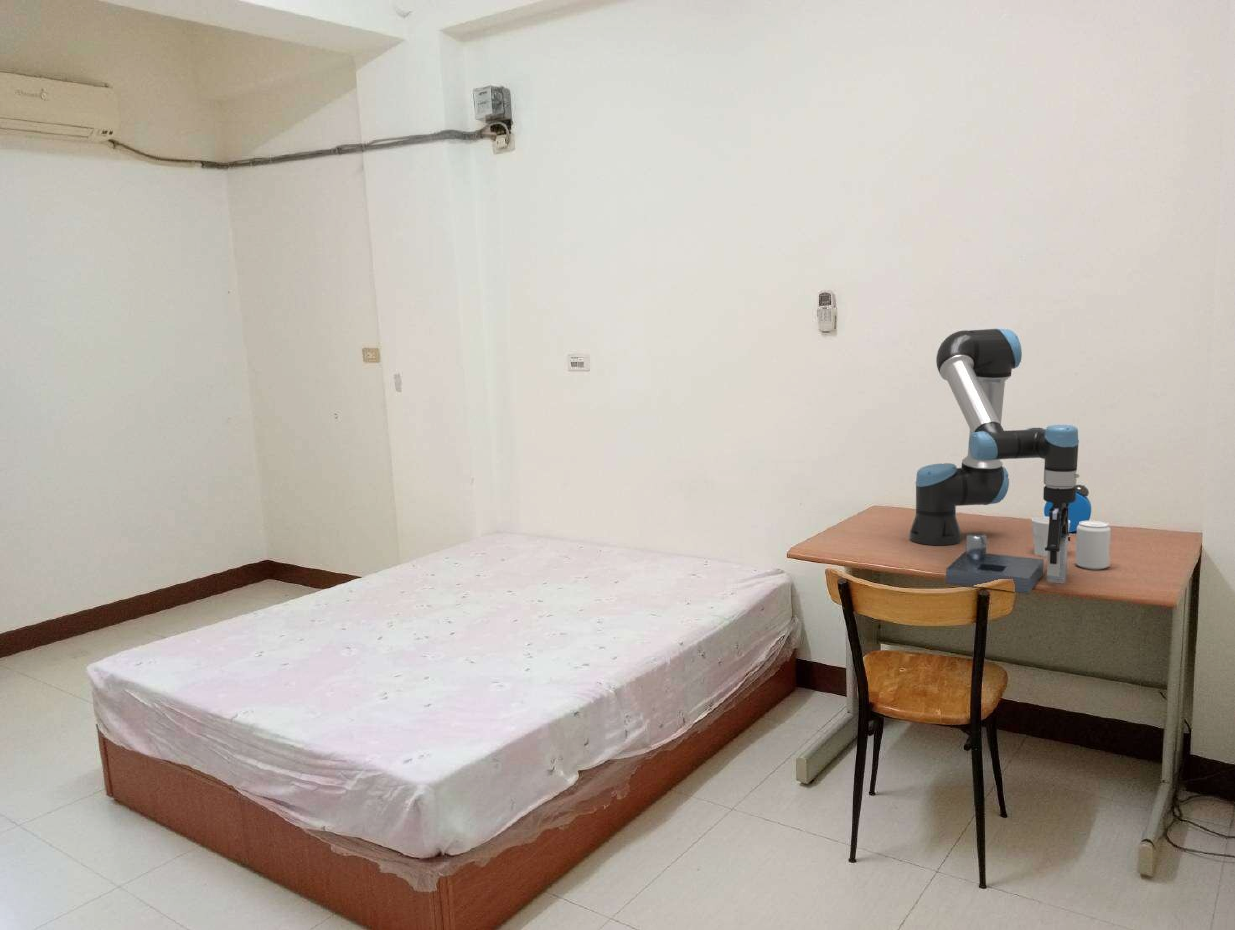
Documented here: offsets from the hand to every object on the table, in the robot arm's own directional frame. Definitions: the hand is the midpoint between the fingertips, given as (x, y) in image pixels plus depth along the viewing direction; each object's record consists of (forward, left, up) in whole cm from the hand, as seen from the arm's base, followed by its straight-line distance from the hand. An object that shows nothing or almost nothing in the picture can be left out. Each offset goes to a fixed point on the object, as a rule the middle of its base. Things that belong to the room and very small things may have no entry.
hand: (1056, 570), depth 234 cm
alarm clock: (-6, +58, -3) cm, 58 cm away
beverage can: (+6, +18, -3) cm, 19 cm away
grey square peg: (0, 0, -3) cm, 3 cm away
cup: (-6, +27, -3) cm, 28 cm away
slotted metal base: (-14, -5, -3) cm, 15 cm away
